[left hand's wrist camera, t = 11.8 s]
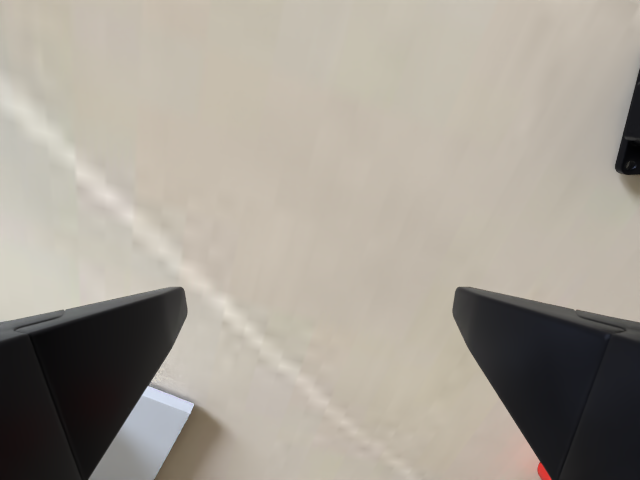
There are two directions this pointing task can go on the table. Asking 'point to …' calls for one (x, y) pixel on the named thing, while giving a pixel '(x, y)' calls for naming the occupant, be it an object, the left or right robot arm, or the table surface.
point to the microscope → (144, 438)
